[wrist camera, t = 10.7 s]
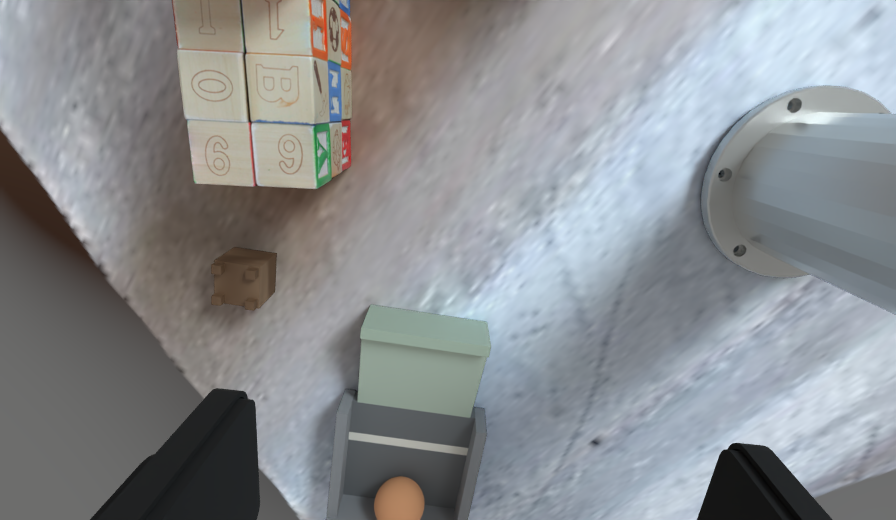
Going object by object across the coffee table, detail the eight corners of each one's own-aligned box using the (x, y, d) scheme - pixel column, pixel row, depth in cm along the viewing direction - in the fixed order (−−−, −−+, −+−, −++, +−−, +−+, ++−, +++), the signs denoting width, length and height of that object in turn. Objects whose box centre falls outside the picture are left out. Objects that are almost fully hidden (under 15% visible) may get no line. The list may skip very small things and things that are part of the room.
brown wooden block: (276, 253, 33) (256, 270, 30) (274, 291, 34) (255, 312, 31) (234, 247, 33) (209, 263, 30) (234, 285, 34) (209, 305, 31)
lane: (484, 408, 37) (488, 442, 34) (462, 511, 41) (462, 553, 37) (345, 388, 37) (333, 421, 33) (334, 494, 40) (322, 535, 37)
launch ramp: (487, 321, 35) (490, 346, 31) (469, 407, 37) (471, 440, 34) (370, 304, 35) (361, 327, 31) (360, 392, 37) (350, 423, 33)
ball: (429, 472, 37) (423, 528, 34) (424, 489, 40) (418, 542, 37) (380, 465, 37) (369, 520, 34) (378, 483, 40) (369, 535, 37)
